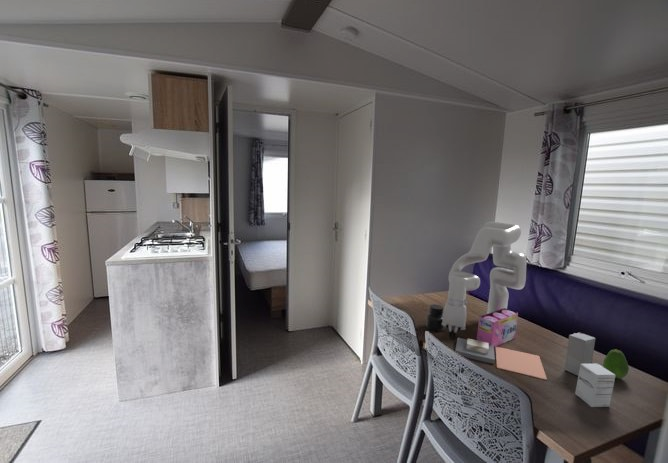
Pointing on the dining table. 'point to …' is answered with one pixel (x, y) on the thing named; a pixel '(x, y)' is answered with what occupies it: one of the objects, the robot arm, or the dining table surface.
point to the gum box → (497, 327)
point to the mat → (519, 362)
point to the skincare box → (579, 352)
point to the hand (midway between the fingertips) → (452, 338)
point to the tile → (477, 346)
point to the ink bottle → (435, 318)
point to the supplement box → (595, 385)
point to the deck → (474, 352)
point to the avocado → (616, 363)
